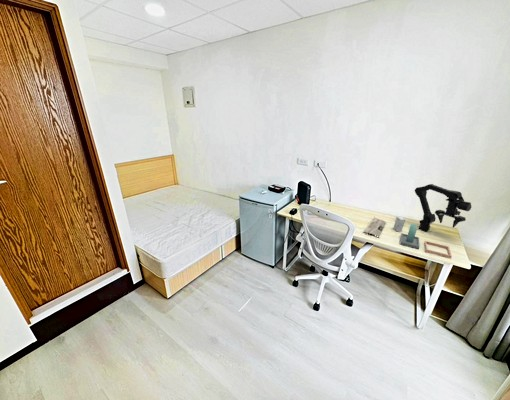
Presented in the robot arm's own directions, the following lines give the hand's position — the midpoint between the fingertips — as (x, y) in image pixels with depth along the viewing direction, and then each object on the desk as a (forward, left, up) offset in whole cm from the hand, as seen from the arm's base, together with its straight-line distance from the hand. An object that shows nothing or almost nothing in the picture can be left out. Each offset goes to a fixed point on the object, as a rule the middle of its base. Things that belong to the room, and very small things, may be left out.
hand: (446, 225), depth 174 cm
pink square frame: (+7, -25, -12) cm, 29 cm away
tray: (-9, -32, -12) cm, 35 cm away
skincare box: (-25, -20, -12) cm, 34 cm away
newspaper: (-37, -34, -12) cm, 52 cm away
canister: (-9, -32, -11) cm, 35 cm away
